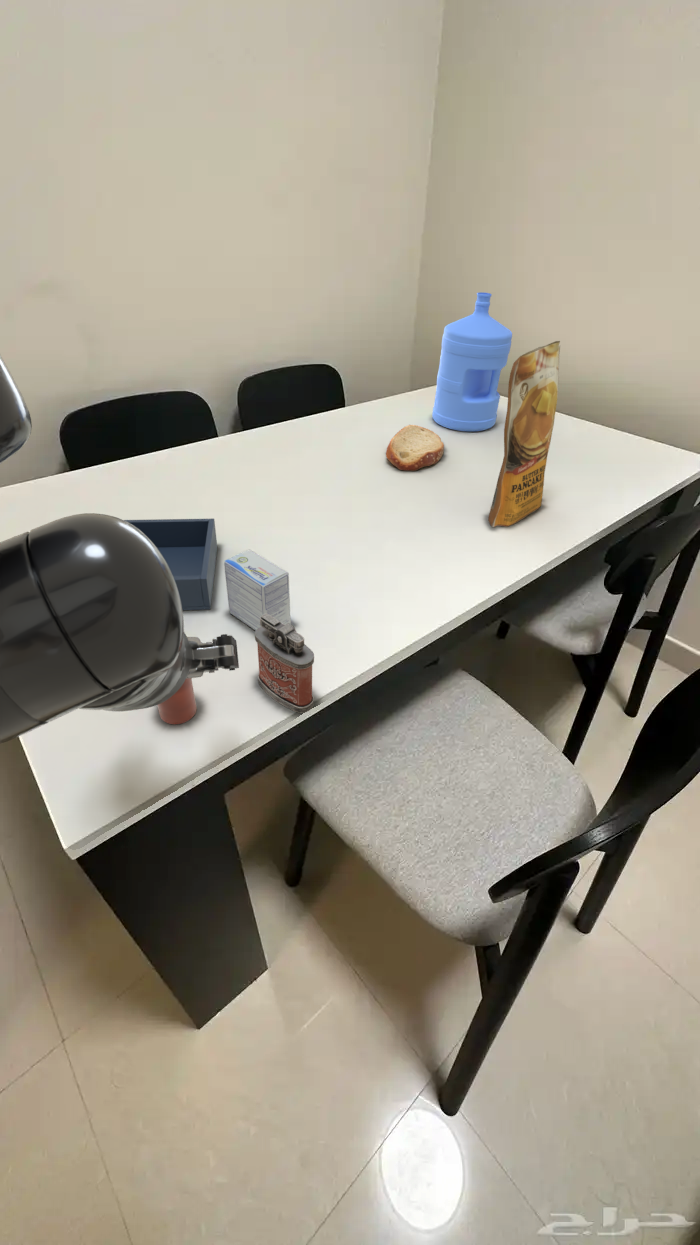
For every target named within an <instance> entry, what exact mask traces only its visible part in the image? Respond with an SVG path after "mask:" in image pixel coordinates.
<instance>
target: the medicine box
mask: <svg viewBox="0 0 700 1245" xmlns="http://www.w3.org/2000/svg"><path fill="white" fill-rule="evenodd" d="M223 566H224V575H225V576H224V577H225V584H226V585H225V586H226V593H227V602H228V611H229V614H231V615H233V616H234V617H235V618H237V619H238V620H239V621H241V622H242V623H244V624H245V625H247V626H248V627H250V628H251V629H252V630H254V631H256V630H257V629H258V628H260V627H262V626H261V625H260V617H261V616H262V615H264V614H269V615H270V616H272V617H274V618H275V619H277V620H278V621H280V622H281V623H283V624H284V625H286V624H288V623H290V624H291V625H292V619H291V599H290V598H291V596H290V574H289V572H288V571H287V570H285V569H283V568H282V567H280V566H278V565H277V564H275V563H273V562H272V561H270V560H268V559H267V558H265V557H263V556H262V555H260V554H259V553H257V552H255V551H254V550H252V549H246V550H244V551H241V552H239V553H238V554H235V555H233V556H231V557H228V558H227V559H225V560H224V561H223Z"/></svg>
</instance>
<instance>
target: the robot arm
mask: <svg viewBox="0 0 700 1245" xmlns="http://www.w3.org/2000/svg"><path fill="white" fill-rule="evenodd" d="M32 425H33V424H32V418H31V413H30V411H29V408H28V405H27V403H26V400H25V398H24V396H23V393H22V392H21V390H20V388H19V386H18V384H17V382H16V380H15V378H14V376H13V374H12V373H11V371H10V369H9V368H8V366H7V363H6V362H5V360H4V358H3V357H2V355H1V354H0V465H1V464H3V463H4V462H6V461H7V460H8V459H10V458H11V457H13V456H15V455H16V453H18V452H19V451H21V449H22V448H23V447H24V446H25V445H26V444H27V442H28V441H29V440H30V436H31V434H32V429H33V428H32V427H33V426H32ZM124 520H125V519H122V518H119V517H117V516H114V515H110V514H106V513H105V514H103V513H97V512H96V513H95V512H93V513H91V512H88V513H85V512H84V513H78V514H72V515H67V516H64V517H61V518H58V519H55V520H53V521H50V522H48V523H45V524H42V525H39V526H37V527H35V528H33V529H31V530H30V531H26V532H25V531H24V532H23V533H21V534H18V535H15V536H13V537H10V538H7V539H5V540H2V541H0V744H4V743H7V742H9V741H12V740H14V739H16V738H17V739H18V738H19V737H21V736H23V735H25V734H27V733H30V732H32V731H34V730H35V729H38V728H40V727H42V726H44V725H48V724H49V723H51V722H53V721H55V720H57V719H59V718H62V717H64V716H66V715H68V714H70V713H72V712H74V711H76V710H83V711H84V710H85V711H87V710H89V711H106V712H119V713H121V712H130V711H138V710H144V709H149V708H152V707H156V706H158V704H161V703H163V702H164V701H166V700H168V699H169V698H170V697H172V696H173V695H174V694H175V693H176V692H177V691H178V690H179V689H180V687H181V686H182V685H183V683H184V681H185V679H190V678H192V679H195V678H196V679H197V678H201V677H203V676H204V673H208V674H213V673H215V672H217V671H219V669H223V670H229V671H236V669H239V668H240V665H239V664H240V662H239V653H238V644H237V642H238V641H237V640H236V638H235V637H234V636H233V635H228V634H226V633H225V634H220V636H216V638H215V637H214V638H212V639H211V641H207V642H202V641H201V639H200V638H199V637H198V636H187V634H186V633H185V629H184V628H185V626H184V612H183V611H184V610H182V604H181V599H180V595H179V591H178V588H177V585H176V582H175V580H174V577H173V575H172V573H171V571H170V568H169V567H168V565H167V563H166V561H165V559H164V557H163V556H162V554H161V553H160V551H159V550H158V549H157V547H156V546H155V545H154V544H153V542H152V541H151V540H150V539H149V538H148V537H147V536H146V535H145V534H144V533H143V532H142V531H141V530H139V529H138V528H136V527H135V526H134V525H132V524H130V523H129V522H127V521H124Z"/></svg>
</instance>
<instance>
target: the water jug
mask: <svg viewBox="0 0 700 1245" xmlns="http://www.w3.org/2000/svg"><path fill="white" fill-rule="evenodd" d="M476 296H477V297H476V301H475V304H474V311H473V313H472V314H469V315H467V316H465V317H463V318H460V319H457V320H454V321H453V322H450V323H448V324H446V325H445V326H444V328H443V334H442V339H441V351H440V357H439V358H440V359H439V366H438V372H437V377H436V390H435V396H434V404H433V407H432V419H433V421H434V422H435V423H436V424H438V425H439V426H441V427H444V428H447V429H450V430H453V431H459V432H481V431H486V430H489V429H491V428H492V427H494V425H496V421H497V416H498V410H499V404H500V400H501V394H500V393H499V392H498V387H499V383H500V377H501V373H502V369H503V368H505V367H506V366H507V363H508V359H509V354H510V353H511V352H510V351H511V346H512V338H513V332H512V331H511V329H509V328H508V327H506V326H505V325H503V324H502V323H500V322H499V320H496V319H495V318H493V317H492V316H490V314H489V313H490V312H489V310H490V306H491V297H492V293H489V292H476Z"/></svg>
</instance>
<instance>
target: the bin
mask: <svg viewBox="0 0 700 1245" xmlns="http://www.w3.org/2000/svg"><path fill="white" fill-rule="evenodd" d="M123 520H124V521H127V522H129V523H130V524H132V525H134V526H135V527H136V528H138V529H139V530H141V531H142V532H143V533H144V534H145V535H146V536H147V537H148V538H149V539H150V540H151V541H152V542H153V544H154V545H155V546H156V547H157V549H158V550H159V551H160V553H161V554H162V556H163V557H164V559H165V561H166V563H167V565H168V567H169V568H170V571H171V573H172V575H173V577H174V580H175V582H176V585H177V588H178V591H179V595H180V599H181V604H182V611H205V610H211V608H212V607H211V606H212V598H213V589H214V581H215V572H216V563H217V554H218V538H217V530H216V521H215V518H172V519H171V518H169V519H167V518H161V519H156V518H155V519H123Z"/></svg>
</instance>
